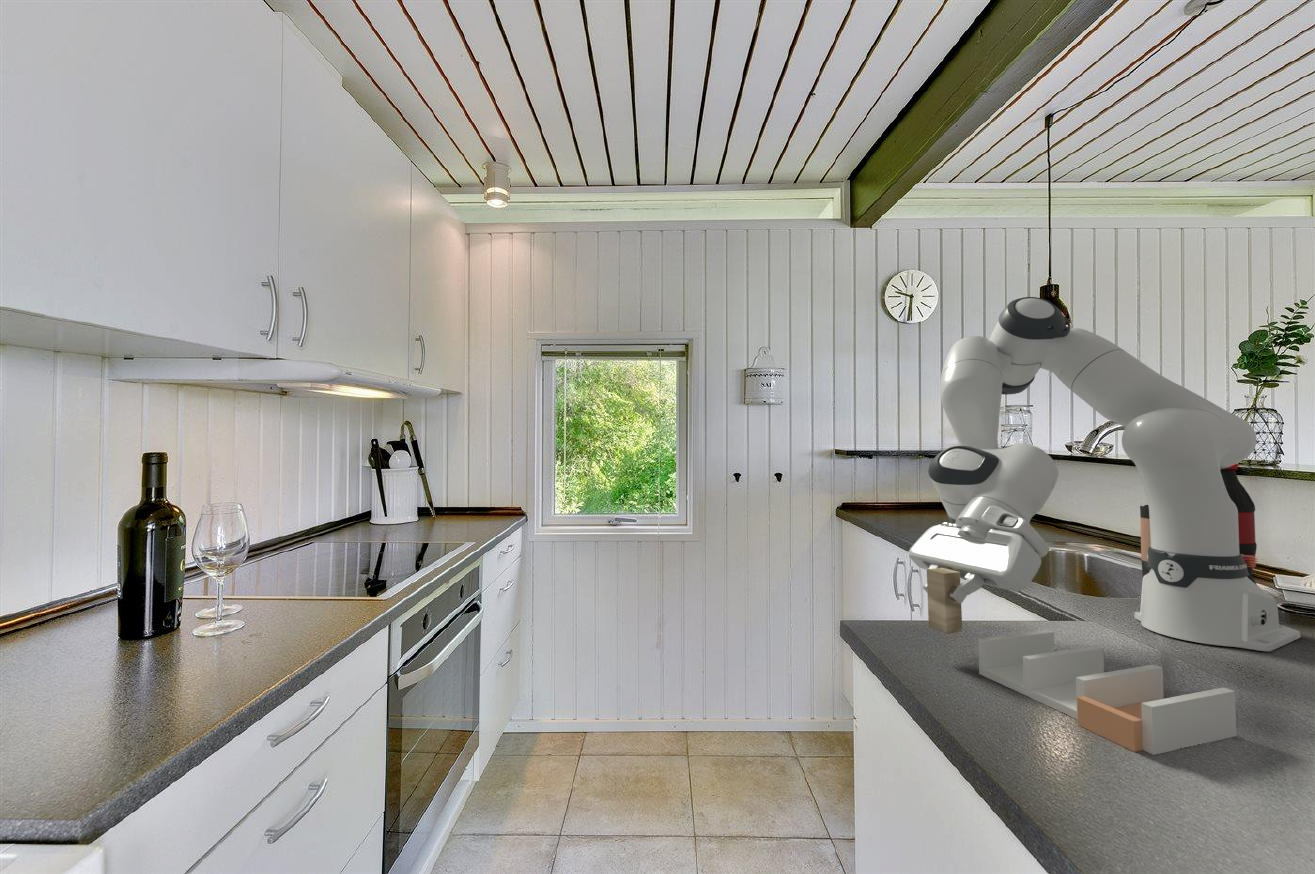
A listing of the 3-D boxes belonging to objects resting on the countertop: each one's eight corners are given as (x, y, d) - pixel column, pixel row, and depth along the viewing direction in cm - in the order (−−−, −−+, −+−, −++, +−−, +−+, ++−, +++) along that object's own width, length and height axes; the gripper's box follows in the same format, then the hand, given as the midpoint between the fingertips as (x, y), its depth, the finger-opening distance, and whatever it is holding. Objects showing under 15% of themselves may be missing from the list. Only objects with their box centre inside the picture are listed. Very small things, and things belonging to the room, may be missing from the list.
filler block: (944, 625, 87) (942, 567, 87) (962, 631, 83) (959, 571, 84) (928, 627, 86) (926, 569, 86) (946, 633, 82) (943, 573, 83)
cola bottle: (1245, 601, 114) (1239, 456, 115) (1269, 612, 106) (1263, 457, 107) (1191, 596, 117) (1186, 457, 118) (1211, 607, 110) (1205, 457, 110)
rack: (1048, 663, 82) (1047, 629, 83) (1236, 735, 61) (1234, 690, 61) (972, 674, 79) (971, 639, 79) (1145, 756, 57) (1143, 708, 58)
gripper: (927, 509, 97) (882, 569, 94) (1035, 521, 77) (984, 597, 74) (948, 533, 98) (905, 593, 95) (1061, 551, 78) (1011, 627, 75)
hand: (940, 595), depth 84 cm, fingers closed on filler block, 3 cm apart
